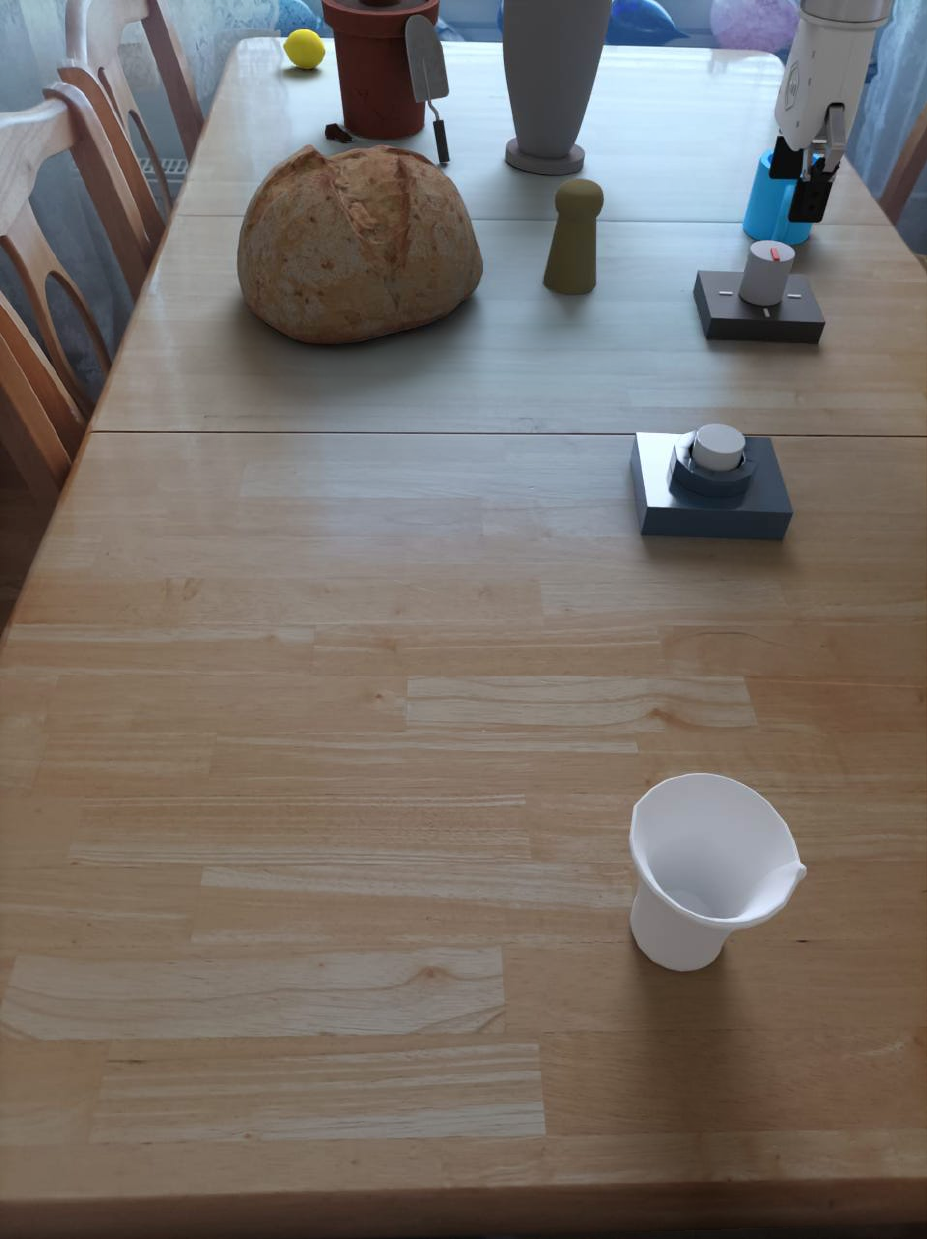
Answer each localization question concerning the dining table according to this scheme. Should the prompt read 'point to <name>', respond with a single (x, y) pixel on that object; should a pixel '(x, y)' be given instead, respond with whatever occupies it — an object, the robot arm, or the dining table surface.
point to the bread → (356, 245)
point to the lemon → (304, 48)
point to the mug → (773, 207)
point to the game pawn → (574, 238)
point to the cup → (706, 867)
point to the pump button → (718, 447)
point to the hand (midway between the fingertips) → (793, 198)
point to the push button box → (708, 491)
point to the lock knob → (766, 272)
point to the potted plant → (387, 68)
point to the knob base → (757, 311)
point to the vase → (551, 78)
